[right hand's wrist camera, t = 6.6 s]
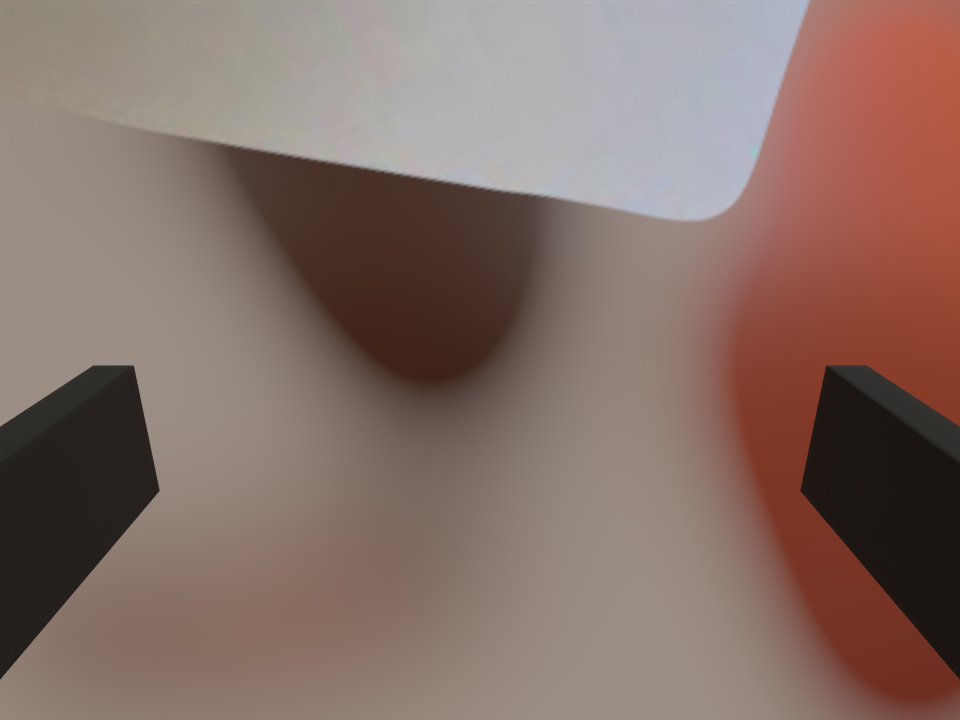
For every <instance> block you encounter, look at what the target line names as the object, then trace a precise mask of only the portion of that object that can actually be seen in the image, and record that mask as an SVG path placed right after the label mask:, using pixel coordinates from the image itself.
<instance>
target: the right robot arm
mask: <svg viewBox="0 0 960 720" xmlns="http://www.w3.org/2000/svg"><path fill="white" fill-rule="evenodd" d="M158 492H159V486H158V481H157V476H156V471H155V466H154V461H153V456H152V451H151V447H150V442H149V437H148V432H147V427H146V423H145V418H144V413H143V408H142V403H141V398H140V393H139V389H138V384H137V379H136V374H135V369H134V366H92V367H91V368H89V369H87V370H86V371H84V372H83V373H81V374H80V375H78V376H77V377H75V378H74V379H72V380H71V381H69V382H68V383H66V384H65V385H63V386H62V387H60V388H58V389H57V390H55V391H54V392H52V393H51V394H49V395H48V396H46V397H45V398H43V399H42V400H40V401H39V402H37V403H36V404H34V405H33V406H31V407H30V408H28V409H26V410H25V411H23V412H22V413H20V414H19V415H17V416H16V417H14V418H13V419H11V420H10V421H8V422H7V423H5V424H4V425H2V426H1V427H0V679H1V678H2V677H3V675H4V674H5V673H6V672H7V671H8V670H9V668H10V667H11V666H12V665H13V664H14V663H15V661H16V660H17V659H18V658H19V657H20V655H21V654H22V653H23V652H24V651H25V650H26V648H27V647H28V646H29V645H30V644H31V642H32V641H33V640H34V639H35V638H36V636H37V635H38V634H39V633H40V632H41V631H42V629H43V628H44V627H45V626H46V625H47V623H48V622H49V621H50V620H51V619H52V618H53V616H54V615H55V614H56V613H57V612H58V610H59V609H60V608H61V607H62V606H63V605H64V603H65V602H66V601H67V600H68V599H69V597H70V596H71V595H72V594H73V593H74V592H75V590H76V589H77V588H78V587H79V586H80V584H81V583H82V582H83V581H84V580H85V579H86V577H87V576H88V575H89V574H90V572H91V571H92V570H93V569H94V568H95V567H96V565H97V564H98V563H99V562H100V561H101V560H102V558H103V557H104V556H105V555H106V554H107V552H108V551H109V550H110V549H111V548H112V547H113V545H114V544H115V543H116V542H117V541H118V539H119V538H120V537H121V536H122V535H123V534H124V532H125V531H126V530H127V529H128V528H129V526H130V525H131V524H132V523H133V522H134V521H135V519H136V518H137V517H138V516H139V515H140V513H141V512H142V511H143V510H144V509H145V507H146V506H147V505H148V504H149V503H150V502H151V500H152V499H153V498H154V497H155V496H156V494H157V493H158ZM801 492H802V493H803V495H804V496H805V497H806V498H807V499H808V500H809V502H810V503H811V504H812V505H813V506H814V507H815V509H816V510H817V511H818V512H819V513H820V515H821V516H822V517H823V518H824V519H825V521H826V522H827V523H828V524H829V525H830V526H831V528H832V529H833V530H834V531H835V532H836V534H837V535H838V536H839V537H840V538H841V539H842V541H843V542H844V543H845V544H846V545H847V547H848V548H849V549H850V550H851V551H852V552H853V554H854V555H855V556H856V557H857V558H858V560H859V561H860V562H861V563H862V564H863V566H864V567H865V568H866V569H867V570H868V571H869V573H870V574H871V575H872V576H873V577H874V579H875V580H876V581H877V582H878V583H879V584H880V586H881V587H882V588H883V589H884V590H885V592H886V593H887V594H888V595H889V596H890V597H891V599H892V600H893V601H894V602H895V603H896V605H897V606H898V607H899V608H900V609H901V610H902V612H903V613H904V614H905V615H906V616H907V618H908V619H909V620H910V621H911V622H912V624H913V625H914V626H915V627H916V628H917V629H918V631H919V632H920V633H921V634H922V635H923V637H924V638H925V639H926V640H927V641H928V642H929V644H930V645H931V646H932V647H933V648H934V649H935V651H936V652H937V653H938V654H939V655H940V657H941V658H942V659H943V660H944V661H945V663H946V664H947V665H948V666H949V667H950V668H951V670H952V671H953V672H954V673H955V674H956V675H957V677H958V678H959V679H960V427H959V426H958V425H956V424H955V423H953V422H952V421H950V420H949V419H947V418H946V417H944V416H943V415H941V414H940V413H938V412H937V411H935V410H933V409H932V408H930V407H929V406H927V405H926V404H924V403H923V402H921V401H920V400H918V399H917V398H915V397H914V396H912V395H911V394H909V393H908V392H906V391H905V390H903V389H901V388H900V387H898V386H897V385H895V384H894V383H892V382H891V381H889V380H888V379H886V378H885V377H883V376H882V375H880V374H879V373H877V372H876V371H874V370H873V369H871V368H870V367H868V366H826V369H825V374H824V379H823V384H822V388H821V393H820V398H819V403H818V408H817V413H816V418H815V423H814V427H813V432H812V437H811V442H810V447H809V451H808V456H807V461H806V466H805V471H804V476H803V481H802V485H801Z"/></svg>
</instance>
